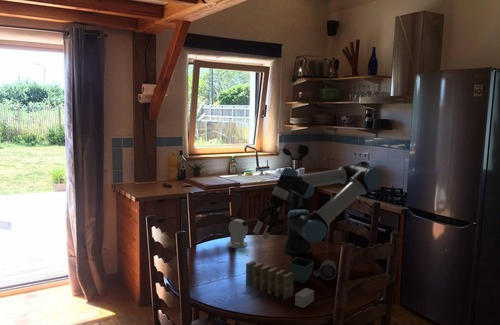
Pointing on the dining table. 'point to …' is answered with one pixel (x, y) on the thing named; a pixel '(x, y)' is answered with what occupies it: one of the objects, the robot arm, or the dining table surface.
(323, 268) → the ceramic mug
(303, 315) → the dining table surface
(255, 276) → the domino
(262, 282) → the domino
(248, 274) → the domino
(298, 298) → the end block
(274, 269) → the domino
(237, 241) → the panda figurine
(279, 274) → the domino
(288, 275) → the domino
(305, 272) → the flower pot
